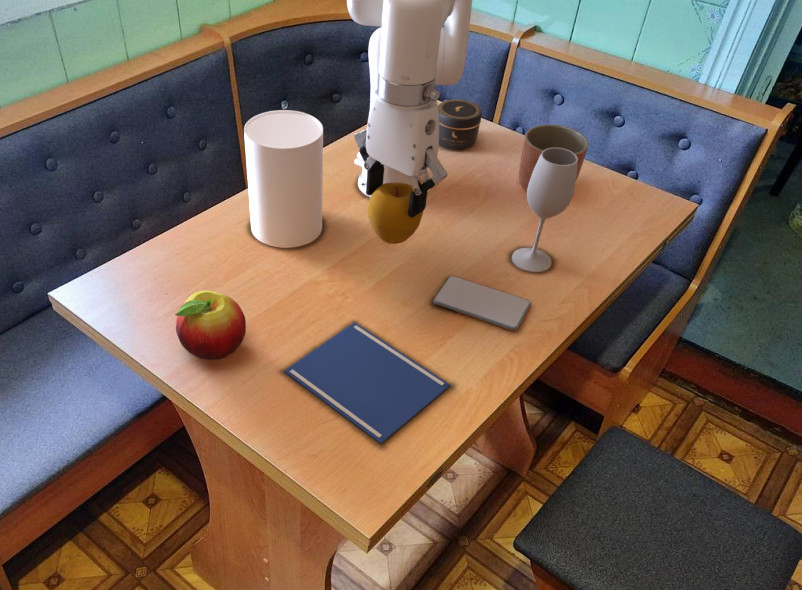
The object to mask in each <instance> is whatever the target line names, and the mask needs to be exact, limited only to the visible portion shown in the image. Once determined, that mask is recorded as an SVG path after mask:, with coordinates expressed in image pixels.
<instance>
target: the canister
mask: <svg viewBox="0 0 802 590" xmlns="http://www.w3.org/2000/svg"><path fill="white" fill-rule="evenodd" d="M243 133H244V134H243V135H244V136H243V137H244V148H245V162H246V163H245V164H246V176H247V190H248V202H249V218H250V229H251V233H252V235H253V237H254V238H256V239H257V240H258V241H259V242H261V243H263V244H265V245H267V246H270V247H275V248H282V249H289V248H290V249H291V248H297V247H302V246H305V245H308V244H310V243H312V242H314V241H315V240H316V239H318V238H319V236H320V235H321V234H322V231H323V186H324V185H323V184H324V183H323V181H324V180H323V178H324V177H323V175H324V174H323V173H324V172H323V171H324V126H323V124H322V122H321V121H320V120H319V119H318V118H316V117H315V116H313V115H311V114H309V113H306V112H303V111H298V110H290V109H276V110H270V111H265V112H262V113H258V114H257V115H254V116H253V117H251V118H250V119H248V120H247V121H246V123H245V125H244V127H243Z"/></svg>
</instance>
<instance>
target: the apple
mask: <svg viewBox="0 0 802 590" xmlns="http://www.w3.org/2000/svg"><path fill="white" fill-rule="evenodd" d="M413 191H414V190H413V187H412V186H411V185H409V184H406V183H399V182H396V183H385V184H383V185H381V186H380V187H378V188H377V189H376V190H375V191H374V193H373V194H372V196H371V197H369V199H368V205H367V216H368V222H369V224H370V226H371V228H372V230H373V232H374V234H375V235H376V236H377V237H378V238H379V239H380V240H381V241H382V242H384V243H386V244H388V245H399V244H402V243H404V242H406V241H407V240H408V239H409V238H411V237H412V236H413V235H414V234H415V232H416V231H417V229H418V228H419V226H420V223H421V221H422V217H423V215H424V211H422V212H421V213H419V214H418V215H416V216H414V217H413V218H411V217H409V216H408V208H409V199H410V194H411V192H413Z"/></svg>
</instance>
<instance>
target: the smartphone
mask: <svg viewBox="0 0 802 590" xmlns="http://www.w3.org/2000/svg"><path fill="white" fill-rule="evenodd" d="M433 304H434V305H437V306H439V307H442V308H445V309H448V310H450V311H453V312H457V313H460V314H463V315H465V316H469V317H472V318H474V319H477V320H481V321H483V322H486V323H489V324H492V325H495V326H497V327H501V328H504V329H507V330H509V331H516V330H518V329H519V327H520V325H521V323H522V321H523V319H524V318H525V316H526V314H527V312H528V310H529V309H530V307H531V304H532V303H531V301H530V300H529V299H526V298H523V297H521V296H518V295H515V294H511V293H508V292H505V291H502V290H499V289H496V288H493V287H489V286H486V285H483V284H481V283H478V282H474V281H471V280H468V279H465V278H462V277H459V276H455V275H450V276H448V278H447V279H446V280H445V282H444V284H443V285H442V286H441V287H440V289H439V291H438V292H437V294H436V295H435V296H434V298H433Z"/></svg>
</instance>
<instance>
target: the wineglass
mask: <svg viewBox="0 0 802 590" xmlns="http://www.w3.org/2000/svg"><path fill="white" fill-rule="evenodd" d="M577 167H578V157H577V156H576V154H574V153H573V152H571V151H569V150H567V149H563V148H548V149H545V150H544V151H543V152H542V153H541V155H540V157H539V159H538V161H537V163H536V166H535V168H534V170H533V173H532V176H531V178H530V181H529V184H528V189H527V191H526V200H527V204H528V207H530V210H531V211H532V213H534V214H535V215H536V216H537V217H538V219H539V222H538V223H539V224H538V227H537V230H536V234H535V238H534V242H533V245H532V247H521V248H517V249H516V250H514V251H513V253H512V255H511V261H512V264H514V265H515V266H516V267H517V268H518V269H520V270H522V271H525V272H528V273H543V272H545V271H548V270H549V269H550V268H551V266H552V262H553V261H552V258H551V257H550V255H549V254H547V252H545V251H543V250H541V249H538V245H539V242H540V239H541V234H542V231H543V227H544V224H545V222H546V220H548V219H551V218H554V217H556V216H558V215H560V214H562V213H563V212H565V210H566V209H567V208H568V207H569V205H570V204H571V202H572V200H573V197H574V193H575V188H576V182H577V180H576V176H577Z"/></svg>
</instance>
